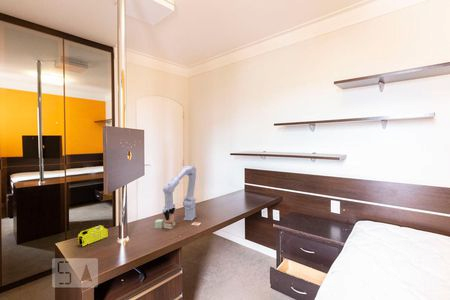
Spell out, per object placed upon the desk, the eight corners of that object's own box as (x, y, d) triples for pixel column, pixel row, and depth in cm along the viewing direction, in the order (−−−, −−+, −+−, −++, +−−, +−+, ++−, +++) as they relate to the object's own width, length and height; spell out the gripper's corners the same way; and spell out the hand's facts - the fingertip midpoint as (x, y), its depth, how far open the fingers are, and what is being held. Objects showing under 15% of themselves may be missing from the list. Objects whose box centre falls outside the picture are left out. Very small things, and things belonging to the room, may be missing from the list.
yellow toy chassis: (103, 235, 151) (102, 224, 151) (108, 237, 148) (107, 225, 148) (78, 245, 137) (77, 232, 137) (82, 247, 134) (82, 234, 134)
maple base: (168, 225, 169) (168, 220, 169) (175, 226, 167) (175, 221, 167) (163, 228, 164) (163, 223, 163) (170, 229, 161) (170, 224, 161)
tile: (194, 222, 173) (193, 221, 173) (201, 223, 171) (201, 222, 171) (191, 224, 168) (191, 224, 168) (198, 225, 167) (198, 224, 167)
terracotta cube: (168, 219, 168) (168, 213, 168) (174, 220, 167) (174, 213, 166) (165, 222, 163) (164, 215, 163) (171, 222, 162) (170, 216, 162)
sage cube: (157, 225, 168) (157, 219, 168) (163, 225, 168) (163, 219, 167) (154, 228, 163) (154, 221, 163) (161, 228, 163) (161, 221, 162)
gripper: (169, 198, 172) (169, 215, 173) (158, 203, 159) (159, 221, 159) (177, 198, 170) (177, 215, 171) (167, 204, 157) (167, 222, 157)
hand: (169, 218), depth 165 cm, fingers closed on terracotta cube, 5 cm apart
